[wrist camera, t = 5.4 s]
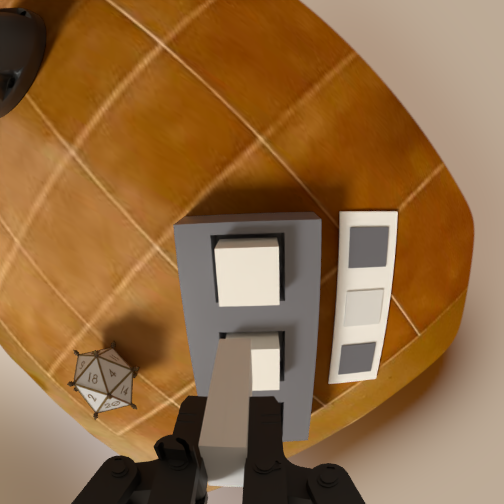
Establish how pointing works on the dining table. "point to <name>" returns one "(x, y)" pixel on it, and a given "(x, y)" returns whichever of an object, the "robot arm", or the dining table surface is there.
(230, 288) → the button near arm
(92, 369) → the game die
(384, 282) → the pattern card
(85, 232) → the dining table surface
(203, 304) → the button board
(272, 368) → the middle button
